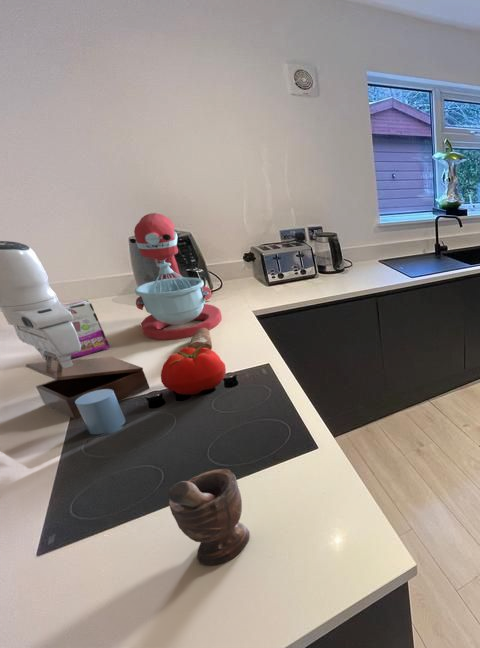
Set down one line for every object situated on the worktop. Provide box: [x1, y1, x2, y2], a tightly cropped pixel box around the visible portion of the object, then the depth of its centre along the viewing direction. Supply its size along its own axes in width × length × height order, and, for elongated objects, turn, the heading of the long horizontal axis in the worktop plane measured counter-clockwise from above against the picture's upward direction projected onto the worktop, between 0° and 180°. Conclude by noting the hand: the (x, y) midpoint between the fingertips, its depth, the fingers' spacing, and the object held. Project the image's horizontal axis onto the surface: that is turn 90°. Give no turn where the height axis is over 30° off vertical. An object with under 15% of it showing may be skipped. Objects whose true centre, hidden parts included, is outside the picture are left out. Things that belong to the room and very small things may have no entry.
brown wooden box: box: [35, 370, 151, 420], centre depth 105 cm, size 16×15×6 cm
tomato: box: [160, 346, 227, 395], centre depth 110 cm, size 13×14×12 cm
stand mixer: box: [129, 212, 223, 341], centre depth 144 cm, size 24×32×40 cm
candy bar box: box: [62, 299, 111, 360], centre depth 126 cm, size 11×5×16 cm, turn 147°
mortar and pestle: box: [167, 468, 251, 566], centre depth 63 cm, size 12×9×20 cm
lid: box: [25, 351, 144, 380], centre depth 102 cm, size 16×15×5 cm
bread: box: [187, 328, 213, 350], centre depth 134 cm, size 6×19×6 cm, turn 32°
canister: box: [75, 389, 127, 438], centre depth 94 cm, size 6×6×9 cm
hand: (59, 363), depth 98 cm, fingers closed on lid, 6 cm apart
